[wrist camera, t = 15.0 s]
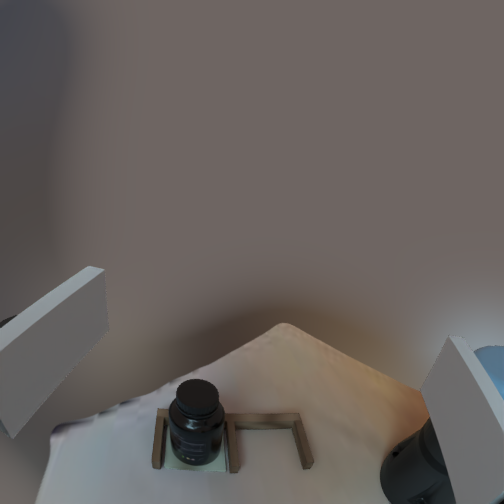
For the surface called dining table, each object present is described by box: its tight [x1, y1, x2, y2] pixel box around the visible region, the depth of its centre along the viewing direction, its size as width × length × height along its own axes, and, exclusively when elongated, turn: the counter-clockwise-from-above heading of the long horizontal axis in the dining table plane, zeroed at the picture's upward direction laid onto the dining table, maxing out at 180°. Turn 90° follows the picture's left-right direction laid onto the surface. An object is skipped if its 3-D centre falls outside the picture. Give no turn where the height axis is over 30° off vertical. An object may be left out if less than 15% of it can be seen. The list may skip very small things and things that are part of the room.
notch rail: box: [152, 408, 314, 473], centre depth 38 cm, size 21×10×2 cm, turn 97°
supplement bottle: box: [168, 379, 225, 466], centre depth 34 cm, size 7×7×12 cm
